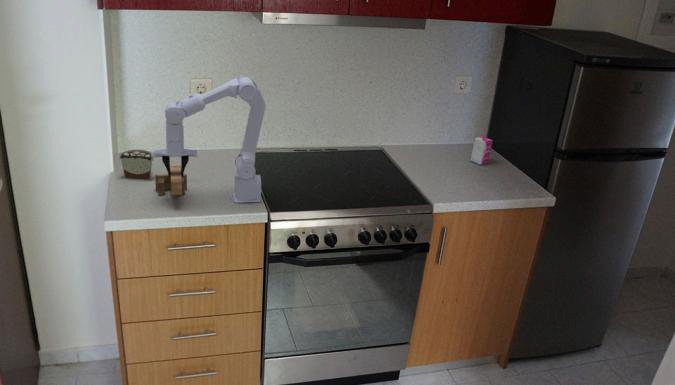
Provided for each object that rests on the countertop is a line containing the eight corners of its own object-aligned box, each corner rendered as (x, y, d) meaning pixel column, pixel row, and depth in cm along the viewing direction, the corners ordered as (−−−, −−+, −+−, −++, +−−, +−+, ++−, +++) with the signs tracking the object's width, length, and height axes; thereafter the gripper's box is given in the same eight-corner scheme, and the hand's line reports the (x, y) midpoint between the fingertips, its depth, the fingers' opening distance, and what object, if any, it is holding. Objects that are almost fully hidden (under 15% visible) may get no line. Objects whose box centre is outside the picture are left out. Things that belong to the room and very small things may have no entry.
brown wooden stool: (187, 188, 221) (186, 173, 218) (187, 194, 216) (187, 179, 214) (155, 189, 218) (155, 174, 215) (155, 195, 213) (154, 180, 211)
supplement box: (480, 165, 267) (485, 141, 262) (469, 161, 271) (474, 137, 266) (488, 163, 270) (493, 139, 266) (478, 159, 274) (482, 135, 270)
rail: (170, 178, 215) (170, 165, 213) (180, 178, 216) (180, 165, 214) (171, 195, 203) (170, 181, 201) (181, 194, 204) (181, 181, 201)
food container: (158, 174, 230) (157, 150, 226) (154, 180, 225) (153, 156, 220) (125, 172, 229) (123, 147, 225) (120, 178, 224) (118, 153, 220)
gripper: (196, 134, 207) (196, 170, 213) (152, 135, 203) (154, 171, 209) (197, 142, 201) (197, 179, 207) (152, 142, 197) (154, 180, 203)
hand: (175, 175), depth 208 cm, fingers closed on rail, 3 cm apart
